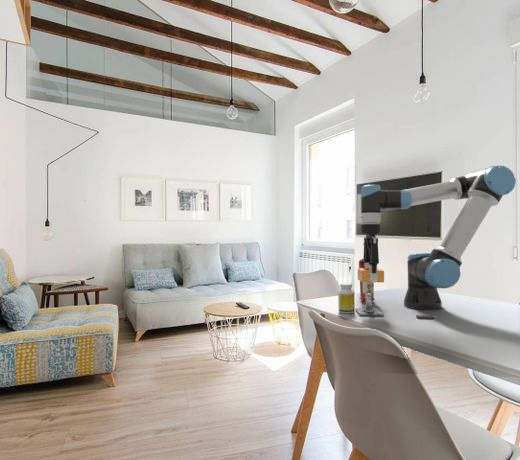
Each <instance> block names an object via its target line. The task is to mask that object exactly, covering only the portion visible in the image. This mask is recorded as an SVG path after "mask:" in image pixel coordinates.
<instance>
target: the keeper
mask: <svg viewBox="0 0 520 460" xmlns="http://www.w3.org/2000/svg"><path fill="white" fill-rule="evenodd" d="M355 310H356V311H355V312H356V313H357V315H358V314H359V315H358V316H359V317H379V318H380V317H383V318H384V317H385V315H384V314H383V312H381V310H379V309H378V307H377V308H375V307H373V301H372V294H369V293H366V302H365V307H364V308H362V307H358V308H357V307H355Z"/></svg>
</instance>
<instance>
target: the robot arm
mask: <svg viewBox="0 0 520 460" xmlns="http://www.w3.org/2000/svg"><path fill="white" fill-rule="evenodd" d="M516 182H517V179H516V177H515V174H514V172H513V170H511V169H510V168H509V167H507V166H506V165H505V166H504V165H491V166H488V167H486V168H483V169H479V170H475V171H472V172H470V173H467V174H465V175H462V176H458V177H453V178H451V179H450V181H445V182H438V183H434V184H429V185H422V186H417V187H412V188H408V189H407V188H406V189H401V190H400V189H397V190H396V189H395V190H391V189H389V190H384V189H381V186H380V184H367V185H363V186H362V187H361V191H360V192H361V193H360V211H361V212H360V215H359V218H360V223H361V225H360V233H361V234H365V237H363V256H364V257H363V258H362V259H363V260H364V262H366V263H365V268H370V282H374V283H378V282H377V269H378V264H379V263H380V261H379V238H378V237H376V234H380V233H382V232H381V224H380V223H381V221H382V218H381V213H382V212H387V211H393V210H408V209H409V208H411V207H413V206H418V205H424V204H429V203H436V202H441V201H444V200H451V199H454V200H455V201H457V200H458V201H459V200H465V199H467V200H466V202H465V203H464V205H463V207H462V208H461V210H460V212H459V213H458V215H457V216H456V218H455V220H454V222H453V224H452V225H451V227H450V229H449V230H448V231H447V233H446V234H445V236H444V238H443V241H441V244H440V245H439V246H438V247H434V248H432V250H431V252H430V253H429V252H425V253H424V252H422V253H410V254H408V256H407V289H406V293H405V295H404V296H405V297H404V298H403V306H405V307H408V308H411V309H416V310H417V309H418V310H426V311H427V310H441V309H442V307H443V305H442V304H443V302H442V300H441V296H440V293H439V291H438V289H449V288H452V287H453V286H455V285H456V284H457V283H458V282H459V280H460V278H461V268H460V267H461V266H462V264H463V262H462V261H463V260H462V256H463V254H464V252H465V250H466V249H467V247H468V245H469V244H470V243H471V241H472V239H473V238H474V236H475V234H476V233H477V232H478V229H479V227H480V225H482V223H483V221H484V219H485V217H487V215H488V213H489V211H490V209H491V208H492V207H494V206H497V205H498V204H500V201H501V199H502V198H503V197H504V196H505V195H509V193H511V192H512V191H513V190H514V189H515V187H516Z"/></svg>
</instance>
